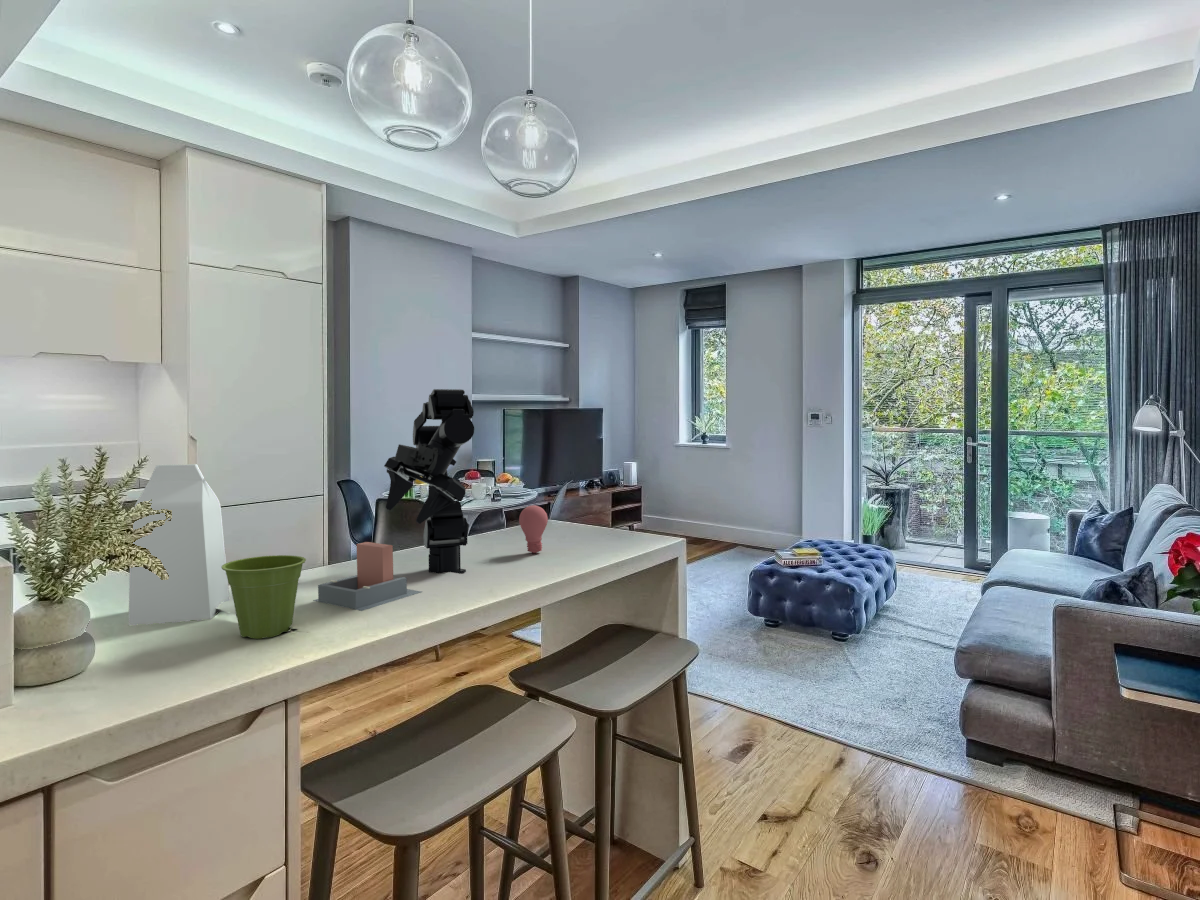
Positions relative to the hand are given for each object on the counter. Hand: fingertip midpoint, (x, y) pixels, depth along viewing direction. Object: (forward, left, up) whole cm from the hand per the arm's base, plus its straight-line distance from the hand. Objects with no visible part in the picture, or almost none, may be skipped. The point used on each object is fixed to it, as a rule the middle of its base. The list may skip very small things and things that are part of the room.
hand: (402, 515), depth 127 cm
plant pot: (+29, 0, -15) cm, 32 cm away
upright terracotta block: (+7, 0, -14) cm, 15 cm away
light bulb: (-41, +1, -15) cm, 44 cm away
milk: (+30, -23, -15) cm, 40 cm away
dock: (+9, 0, -15) cm, 17 cm away
